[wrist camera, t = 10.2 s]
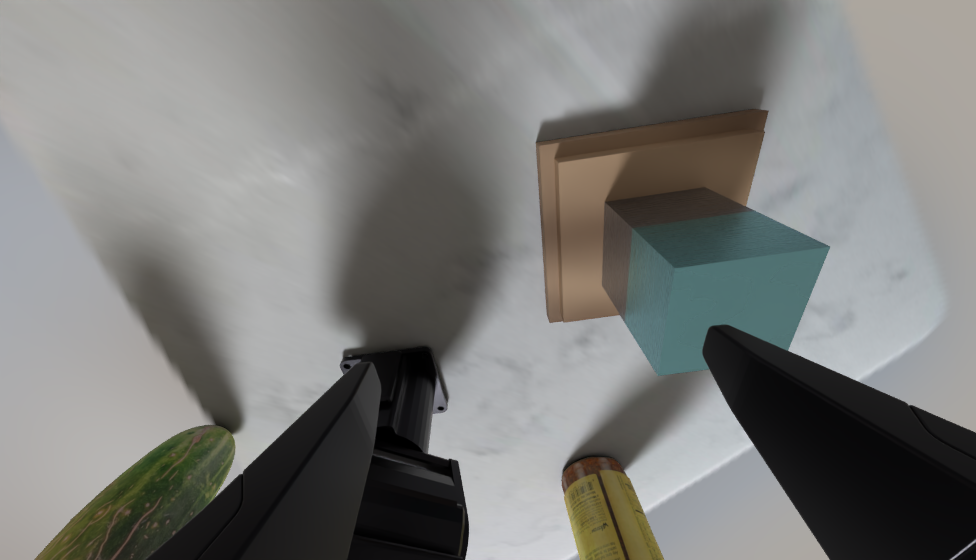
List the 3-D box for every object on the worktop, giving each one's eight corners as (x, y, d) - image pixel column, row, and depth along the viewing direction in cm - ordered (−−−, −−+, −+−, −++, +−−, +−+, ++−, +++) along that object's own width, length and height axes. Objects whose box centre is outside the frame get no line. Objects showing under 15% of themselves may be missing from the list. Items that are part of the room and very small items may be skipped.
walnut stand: (711, 291, 23) (731, 308, 21) (546, 313, 23) (552, 332, 22) (753, 108, 17) (784, 112, 16) (535, 142, 18) (543, 149, 16)
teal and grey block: (704, 187, 17) (830, 246, 11) (688, 273, 20) (784, 359, 14) (604, 201, 17) (674, 268, 11) (601, 285, 20) (658, 375, 14)
